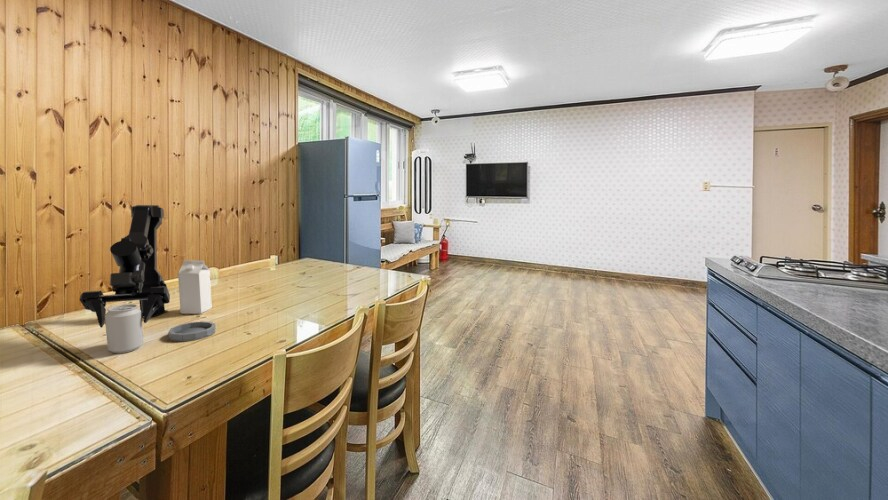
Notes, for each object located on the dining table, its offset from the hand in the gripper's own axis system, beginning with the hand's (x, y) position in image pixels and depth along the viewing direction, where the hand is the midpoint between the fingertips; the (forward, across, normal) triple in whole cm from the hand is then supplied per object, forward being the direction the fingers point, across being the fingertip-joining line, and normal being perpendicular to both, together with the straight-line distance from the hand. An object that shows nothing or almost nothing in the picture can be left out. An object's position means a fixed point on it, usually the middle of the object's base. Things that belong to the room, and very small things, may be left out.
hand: (123, 324), depth 100 cm
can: (+5, 0, +6) cm, 8 cm away
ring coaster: (0, +15, +10) cm, 18 cm away
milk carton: (-18, +13, +28) cm, 36 cm away
